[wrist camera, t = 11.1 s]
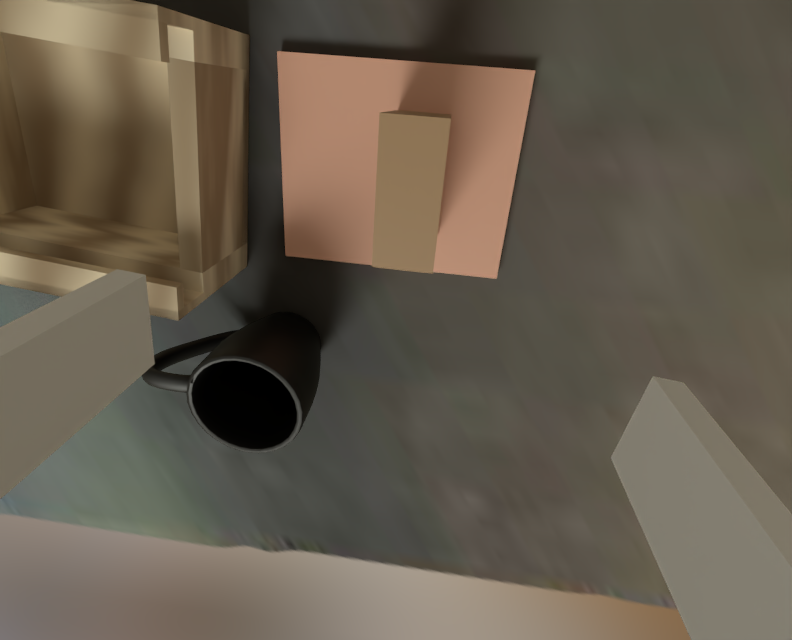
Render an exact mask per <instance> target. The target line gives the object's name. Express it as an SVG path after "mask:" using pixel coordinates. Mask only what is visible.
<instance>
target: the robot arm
mask: <svg viewBox="0 0 792 640" xmlns="http://www.w3.org/2000/svg"><path fill="white" fill-rule="evenodd" d="M154 364H155V361H154V351H153V341H152V332H151V322H150V312H149V302H148V292H147V283H146V275H144V274H139V273H134V272H129V271H124V270H119V269H116V270H114V271H112V272H110V273H108V274H106V275H104V276H102V277H100V278H98V279H96V280H94V281H92V282H90V283H88V284H86V285H84V286H82V287H80V288H78V289H76V290H74V291H72V292H70V293H68V294H66V295H64V296H62V297H60V298H58V299H56V300H54V301H52V302H50V303H48V304H46V305H44V306H42V307H40V308H38V309H36V310H34V311H32V312H30V313H28V314H26V315H24V316H22V317H20V318H18V319H16V320H14V321H12V322H10V323H8V324H6V325H4V326H2V327H0V499H1V498H2V497H3V496H5V495H6V494H7V493H8V492H9V491H10V490H11V489H13V488H14V487H15V486H16V485H17V484H18V483H19V482H21V481H22V480H23V479H24V478H25V477H26V476H27V475H28V474H30V473H31V472H32V471H33V470H34V469H35V468H36V467H38V466H39V465H40V464H41V463H42V462H43V461H44V460H46V459H47V458H48V457H49V456H50V455H51V454H52V453H54V452H55V451H56V450H57V449H58V448H59V447H60V446H62V445H63V444H64V443H65V442H66V441H67V440H68V439H70V438H71V437H72V436H73V435H74V434H75V433H76V432H78V431H79V430H80V429H81V428H82V427H83V426H84V425H85V424H87V423H88V422H89V421H90V420H91V419H92V418H93V417H95V416H96V415H97V414H98V413H99V412H100V411H101V410H103V409H104V408H105V407H106V406H107V405H108V404H109V403H111V402H112V401H113V400H114V399H115V398H116V397H117V396H119V395H120V394H121V393H122V392H123V391H124V390H125V389H127V388H128V387H129V386H130V385H131V384H132V383H133V382H135V381H136V380H137V379H138V378H139V377H140V376H141V375H142V374H144V373H145V372H146V371H147V370H148V369H149V368H150V367H152V366H153V365H154ZM611 460H612V462H613V464H614V466H615V469H616V471H617V473H618V475H619V478H620V480H621V482H622V484H623V487H624V489H625V491H626V494H627V496H628V498H629V500H630V503H631V505H632V507H633V509H634V512H635V514H636V516H637V518H638V521H639V523H640V525H641V527H642V530H643V532H644V534H645V536H646V539H647V541H648V543H649V545H650V548H651V550H652V552H653V555H654V557H655V559H656V561H657V564H658V566H659V568H660V570H661V573H662V575H663V577H664V579H665V582H666V584H667V586H668V588H669V591H670V593H671V595H672V597H673V600H674V602H675V604H676V607H677V609H678V611H679V613H680V616H681V618H682V620H683V622H684V624H685V627H686V629H687V631H688V634H689V636H690V638H691V640H792V514H791V513H790V512H789V510H788V509H787V508H786V507H785V506H784V504H783V503H782V502H781V501H780V499H779V498H778V497H777V496H776V495H775V493H774V492H773V491H772V490H771V489H770V487H769V486H768V485H767V484H766V482H765V481H764V480H763V479H762V478H761V476H760V475H759V474H758V473H757V471H756V470H755V469H754V468H753V467H752V465H751V464H750V463H749V462H748V460H747V459H746V458H745V457H744V456H743V454H742V453H741V452H740V451H739V450H738V448H737V447H736V446H735V445H734V443H733V442H732V441H731V440H730V439H729V437H728V436H727V435H726V434H725V432H724V431H723V430H722V429H721V428H720V426H719V425H718V424H717V423H716V421H715V420H714V419H713V418H712V417H711V415H710V414H709V413H708V412H707V411H706V409H705V408H704V407H703V406H702V404H701V403H700V402H699V401H698V400H697V398H696V397H695V396H694V395H693V393H692V392H691V391H690V390H689V389H688V387H687V386H686V385H685V384H684V382H679V381H674V380H669V379H664V378H659V377H654V376H653V377H652V379H651V381H650V383H649V385H648V387H647V388H646V390H645V392H644V394H643V396H642V398H641V400H640V402H639V404H638V406H637V408H636V410H635V412H634V414H633V416H632V417H631V419H630V421H629V423H628V425H627V427H626V429H625V431H624V433H623V435H622V437H621V439H620V441H619V443H618V445H617V447H616V448H615V450H614V452H613V454H612V456H611Z"/></svg>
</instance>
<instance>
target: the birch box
mask: <svg viewBox="0 0 792 640" xmlns="http://www.w3.org/2000/svg"><path fill="white" fill-rule="evenodd" d="M249 42H250V35H247V34H244V33H241V32H238V31H235V30H232V29H229V28H226V27H223V26H219V25H216V24H213V23H210V22H207V21H204V20H201V19H198V18H195V17H192V16H189V15H186V14H183V13H180V12H177V11H173V10H170V9H167V8H164V7H161V6H158V5H153V4H148V3H142V2H137V1H131V0H0V284H2V285H7V286H12V287H17V288H22V289H27V290H32V291H36V292H41V293H46V294H51V295H56V296H61V297H62V296H64V295H66V294H68V293H70V292H72V291H74V290H76V289H78V288H80V287H82V286H84V285H86V284H88V283H90V282H92V281H94V280H96V279H98V278H100V277H102V276H104V275H106V274H108V273H110V272H112V271H114V270H116V269H119V270H124V271H129V272H134V273H139V274H144V275H146V283H147V292H148V302H149V312H150V315H154V316H159V317H164V318H169V319H173V320H178V321H179V320H180V319H181V318H183V317H184V316H185V315H186V314H188V313H189V312H190V311H191V310H193V309H194V308H195V307H196V306H198V305H199V304H200V303H201V302H203V301H204V300H205V299H206V298H208V297H209V296H210V295H211V294H213V293H214V292H215V291H217V290H218V289H219V288H220V287H222V286H223V285H224V284H225V283H227V282H228V281H229V280H230V279H232V278H233V277H234V276H235V275H237V274H238V273H239V272H240V271H242V270H243V269H244V268H245V267H247V226H248V134H249Z"/></svg>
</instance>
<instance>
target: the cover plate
mask: <svg viewBox="0 0 792 640" xmlns="http://www.w3.org/2000/svg"><path fill="white" fill-rule="evenodd" d="M277 61H278V86H279V110H280V135H281V159H282V183H283V208H284V232H285V256H292V257H301V258H310V259H320V260H329V261H338V262H347V263H356V264H366V265H372V267H377V268H386V269H396V270H405V271H414V272H423V273H432V274H433V272H439V273H448V274H458V275H467V276H476V277H485V278H494V279H497V274H498V268H499V263H500V258H501V252H502V247H503V242H504V236H505V231H506V225H507V220H508V215H509V209H510V204H511V199H512V193H513V188H514V183H515V177H516V172H517V166H518V161H519V156H520V150H521V145H522V140H523V134H524V129H525V124H526V118H527V113H528V107H529V102H530V97H531V91H532V86H533V81H534V75H535V70H522V69H509V68H495V67H482V66H469V65H455V64H442V63H429V62H416V61H402V60H389V59H376V58H362V57H349V56H336V55H322V54H309V53H296V52H283V51H277Z"/></svg>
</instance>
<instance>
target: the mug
mask: <svg viewBox="0 0 792 640" xmlns="http://www.w3.org/2000/svg"><path fill="white" fill-rule="evenodd" d="M320 349H321V342H320V337H319V335H318V332H317V330H316V329H315V328H314V326H313V325H312V324H311V323H310V322H309V321H308V320H307V319H305V318H303V317H302V316H300V315H297V314H294V313H289V312H279V313H275V314H272V315H270V316H268V317H266V318H263V319H260V320H257V321H255V322H253V323H251V324H249V325H247V326H245V327H243V328H241V329H240V330H235V331H229V332H224V333H220V334H217V335H213V336H209V337H206V338H202V339H199V340H195V341H192V342H189V343H185V344H182V345H179V346H176V347H173V348H170V349H167V350H164V351H162V352H160V353H158V354H156V355H154V361H155V364H154V365H153V366H152V367H150V368H149V369H148V370H147V371H146V372H145V373H144V374H142V377H143V380H144V381H145V382H146V383H147V384H149V385H151V386H154V387H157V388H161V389H165V390H170V391H176V392H184V393H187V402H188V405H189V408H190V410H191V413H192V415H193V416H194V418H195V419H196V421H197V423H198V424H199V425H200V426H201V427H202V428H203V429H204V430H205V431H206V433H208V434H209V435H210V436H212V437H213V438H214V439H216V440H217V441H219V442H221V443H223V444H224V445H226V446H228V447H231V448H234V449H237V450H240V451H245V452H250V453H266V452H271V451H275V450H278V449H280V448H282V447H285V446H286V445H287V444H289V443H290V442H291V441H292V440H294V438H295V437H296V436H297V434H298V433H299V432H300V430H301V428H302V425H303V423H304V421H305V419H306V417H307V415H308V413H309V410H310V408H311V406H312V403H313V400H314V397H315V394H316V391H317V387H318V382H319V375H320ZM211 351H212V352H211ZM207 352H211V353H210V354H209V355H208V356H207V357H206V358H205V359H204V360H203V361H202V362H201V363H200V364H199V365H198V366H197V367H196V368H195V369H194V370H193V372H192V374H191V375H179V374H172V373H167V372H162V371H161V370H162V369H164V368H166V367H168V366H170V365H173V364H175V363H178V362H180V361H183V360H186V359H189V358H192V357H195V356H198V355H201V354H204V353H207Z"/></svg>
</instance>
